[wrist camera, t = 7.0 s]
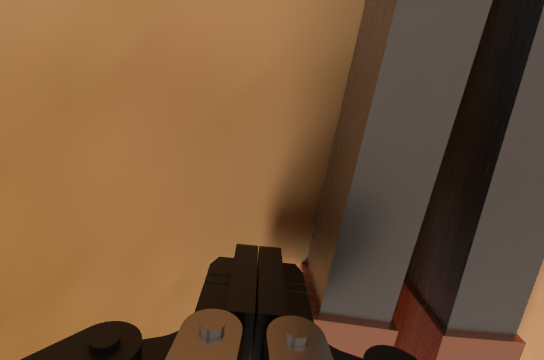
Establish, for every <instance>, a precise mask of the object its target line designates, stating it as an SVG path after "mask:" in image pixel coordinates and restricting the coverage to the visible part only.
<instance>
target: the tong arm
mask: <svg viewBox="0 0 544 360" xmlns="http://www.w3.org/2000/svg"><path fill="white" fill-rule="evenodd" d="M492 1H493V0H366V2H365V7H364V11H363V16H362V20H361V25H360V29H359V33H358V38H357V42H356V47H355V51H354V55H353V60H352V64H351V69H350V73H349V77H348V82H347V86H346V91H345V95H344V100H343V104H342V108H341V113H340V117H339V122H338V126H337V130H336V135H335V139H334V144H333V148H332V153H331V157H330V161H329V166H328V170H327V175H326V179H325V183H324V188H323V192H322V197H321V201H320V205H319V210H318V214H317V219H316V223H315V228H314V232H313V236H312V241H311V245H310V250H309V254H308V258H307V263H306V264H301V266H300V270H301V271H302V272H303V275H304V279H305V285H306V288H307V293H308V297H309V302H310V307H311V311H312V316H313V320H314V323H315V324H316V325H318V326H319V327H320V328H321V330H322V331H323V332H324V334H325V337H326V339H327V342H328V344H329V345H331V346H333V347H334V348H336V349H338V350H340V351H343V352H346V353H349V354H352V355H355V356H357V357H360V358H363V356H364V353H365V352H366V350H367V349H368V348H370V347H372V346H375V345H389V346H393V347H394V343H395V340H396V337H397V334H398V329H397V328H396V326H395V324H394V322H393V321H392V316H393V313H394V310H395V307H396V304H397V300H398V297H399V294H400V291H401V288H402V285H403V282H404V278H405V275H406V272H407V269H408V266H409V263H410V259H411V256H412V253H413V250H414V247H415V244H416V241H417V237H418V234H419V231H420V228H421V225H422V222H423V218H424V215H425V212H426V209H427V206H428V203H429V200H430V196H431V193H432V190H433V187H434V184H435V181H436V177H437V174H438V171H439V168H440V165H441V162H442V159H443V155H444V152H445V149H446V146H447V143H448V140H449V136H450V133H451V130H452V127H453V124H454V121H455V118H456V114H457V111H458V108H459V105H460V102H461V99H462V95H463V92H464V89H465V86H466V83H467V80H468V77H469V73H470V70H471V67H472V64H473V61H474V58H475V54H476V51H477V48H478V45H479V42H480V39H481V36H482V32H483V29H484V26H485V23H486V20H487V17H488V13H489V10H490V7H491V4H492Z"/></svg>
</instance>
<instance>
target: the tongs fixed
mask: <svg viewBox="0 0 544 360" xmlns="http://www.w3.org/2000/svg"><path fill="white" fill-rule="evenodd" d="M543 259H544V0H493V1H492V4H491V7H490V10H489V13H488V17H487V20H486V23H485V26H484V29H483V32H482V36H481V39H480V42H479V45H478V48H477V51H476V54H475V58H474V61H473V64H472V67H471V70H470V73H469V77H468V80H467V83H466V86H465V89H464V92H463V95H462V99H461V102H460V105H459V108H458V111H457V114H456V118H455V121H454V124H453V127H452V130H451V133H450V136H449V140H448V143H447V146H446V149H445V152H444V155H443V159H442V162H441V165H440V168H439V171H438V174H437V177H436V181H435V184H434V187H433V190H432V193H431V196H430V200H429V203H428V206H427V209H426V212H425V215H424V218H423V222H422V225H421V228H420V231H419V234H418V237H417V241H416V244H415V247H414V250H413V253H412V256H411V259H410V263H409V266H408V269H407V272H406V275H405V278H404V282H403V285H402V288H401V291H400V294H399V297H398V300H397V304H396V307H395V310H394V313H393V316H392V321H393V322H394V324H395V326H396V328H397V329H398V334H397V337H396V340H395V343H394V347H396V348H399V349H401V350H404V351H406V352H407V353H409V354H411V355H412V356H414V357H415V358H417V359H418V360H520V357H521V355H522V352H523V349H524V347H525V344H526V343H525V342H524V341H523V340H522V339H521V338H520V337H519V336H518V335H517V334H516V333H517V330H518V327H519V324H520V322H521V319H522V316H523V313H524V311H525V308H526V305H527V303H528V300H529V297H530V294H531V292H532V289H533V286H534V283H535V281H536V278H537V275H538V273H539V270H540V267H541V264H542V262H543Z"/></svg>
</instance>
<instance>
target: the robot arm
mask: <svg viewBox="0 0 544 360" xmlns="http://www.w3.org/2000/svg"><path fill="white" fill-rule="evenodd" d="M257 258H258V262H257ZM249 358H250V360H418V359H417V358H415V357H414V356H412V355H411V354H409V353H407V352H406V351H404V350H401V349H399V348H396V347H393V346H389V345H375V346H372V347H370V348H368V349H367V350H366V352H365V353H364V356H363V358H360V357H357V356H355V355H352V354H349V353H346V352H343V351H340V350H338V349H336V348H334V347H333V346H331V345H329V344H328V342H327V339H326V337H325V334H324V332H323V331H322V330H321V328H320V327H319V326H318V325H316V324H315V323H314V320H313V316H312V311H311V307H310V302H309V297H308V293H307V288H306V285H305V279H304V275H303V272H302V271H301V270H300V269H299V268H298V267H297V266H296V265H295V264H289V263H282V254H281V248H275V247H265V246H260V247H259V253H258V246H254V245H244V244H237V246H236V251H235V256H234V258H227V257H218V258H217V259H216V260H215V261H214V262H212V263H211V264H210V267H209V270H208V273H207V276H206V279H205V283H204V285H203V288H202V291H201V294H200V297H199V300H198V303H197V306H196V310H195V313H193V314H191V315H190V316H188V317H187V318H186V319H185V320H184V322H183V323H182V325H181V327H180V329H179V331H177V332H175V333H172V334H169V335H166V336H162V337H156V338H149V339H143V340H142V335H141V332H140V330H139V329H138V328H137V327H136V326H134V325H132V324H130V323H127V322H122V321H110V322H104V323H100V324H96V325H94V326H91V327H89V328H87V329H84V330H82V331H80V332H78V333H76V334H74V335H72V336H70V337H67V338H65V339H63V340H61V341H59V342H57V343H55V344H53V345H50V346H48V347H46V348H44V349H42V350H40V351H38V352H36V353H33V354H31V355H29V356H27V357H25V358H23V359H21V360H249Z"/></svg>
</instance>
